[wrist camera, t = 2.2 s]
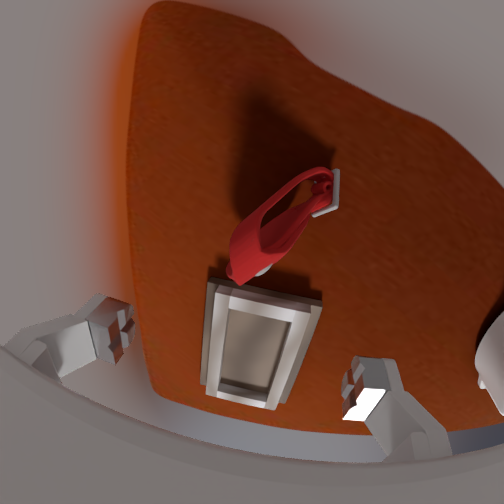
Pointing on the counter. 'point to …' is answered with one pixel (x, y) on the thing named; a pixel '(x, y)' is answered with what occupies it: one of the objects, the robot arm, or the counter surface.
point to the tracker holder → (279, 226)
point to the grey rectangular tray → (254, 342)
